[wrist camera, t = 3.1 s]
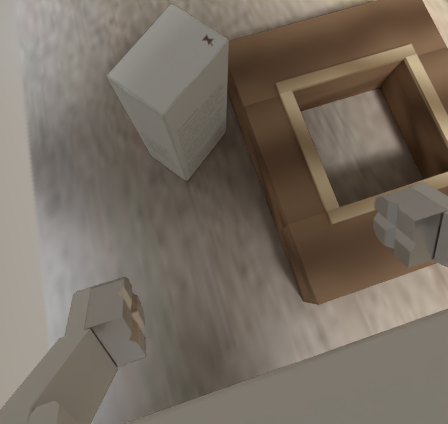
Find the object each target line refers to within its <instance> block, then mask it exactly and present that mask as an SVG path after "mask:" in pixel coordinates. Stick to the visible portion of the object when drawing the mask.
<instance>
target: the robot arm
mask: <svg viewBox="0 0 448 424" xmlns="http://www.w3.org/2000/svg"><path fill="white" fill-rule="evenodd" d="M374 208H375V210H376V211H377V212H378V213H377V215H376V216H375V218H374V219H373V228H374V231H375V234H376V236H377V238H378V239H379V241H380V242H381V243H382V244H383V245H384V246H387V247H390V248H393V250H394V255H395V256H396V257H397V258H398V259H399V260H400V261H401V262H402V263H403V264H404V265H406V266H407V267H408V268H409V267H412V266H416V265H419V264H422V263H425V262H429V261H432V260H434V262H436V263H439V264H441V265H444V266H446V267H448V196H447V195H445V194H443V193H442V192H440V191H438V190H436V189H435V188H433V187H431V186H430V185H428V184H426V183H422V182H420V183H417V184H414V185H411V186H408V187H406V188H403V189H400V190H397V191H394V192H391V193H388V194H385V195H382V196H379V197H377V198H376V200H375V203H374ZM144 326H145V319H144V313H143V308H142V305H141V303H140V300H139V298H138V296H137V295H135V294H133V293H132V285H131V283H130V281H129V279H128V278H127V277H123V278H119V279H116V280H112V281H109V282H106V283H102V284H99V285H95V286H93V287H89V288H86V289H83V290H79V291H76V292H75V294H74V295H73V299H72V303H71V308H70V313H69V318H68V323H67V327H66V332H65V337H62V338H59V340H58V341H57V342H56V343H55V344H54V346H53V347H52V348H51V349H50V350H49V352H48V353H47V354H46V355H45V356H44V358H43V359H42V360H41V361H40V362H39V364H38V365H37V366H36V367H35V368H34V370H33V371H32V372H31V373H30V375H29V376H28V377H27V378H26V380H25V381H24V382H23V383H22V384H21V385H20V387H19V388H18V389H17V390H16V391H15V393H14V394H13V395H12V396H11V397H10V399H9V400H8V401H7V402H6V403H5V405H4V406H3V407H2V409H1V410H0V424H91V422H92V420H93V418H94V416H95V414H96V412H97V410H98V408H99V406H100V404H101V402H102V400H103V398H104V396H105V394H106V392H107V390H108V388H109V386H110V384H111V382H112V380H113V378H114V376H115V374H116V372H117V370H118V368H117V367H120V366H123V365H125V364H128V363H131V362H133V361H136V360H139V359H142V358H144V357H146V342H145V336H144V334H143V332H142V329H143V327H144ZM125 424H448V309H446V310H443V311H440V312H437V313H434V314H432V315H429V316H426V317H423V318H420V319H418V320H415V321H412V322H409V323H406V324H404V325H401V326H398V327H395V328H392V329H390V330H387V331H384V332H381V333H378V334H376V335H373V336H370V337H367V338H364V339H361V340H359V341H356V342H353V343H350V344H347V345H345V346H342V347H339V348H336V349H333V350H330V351H328V352H325V353H322V354H319V355H316V356H313V357H311V358H308V359H305V360H302V361H299V362H297V363H294V364H291V365H288V366H285V367H282V368H280V369H277V370H274V371H271V372H268V373H265V374H263V375H260V376H257V377H254V378H251V379H249V380H246V381H243V382H240V383H237V384H235V385H232V386H229V387H226V388H223V389H220V390H218V391H215V392H212V393H209V394H206V395H204V396H201V397H198V398H195V399H192V400H189V401H187V402H184V403H181V404H178V405H175V406H173V407H170V408H167V409H164V410H161V411H158V412H156V413H153V414H150V415H147V416H144V417H142V418H139V419H136V420H133V421H130V422H128V423H125Z"/></svg>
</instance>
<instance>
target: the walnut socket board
mask: <svg viewBox="0 0 448 424" xmlns="http://www.w3.org/2000/svg"><path fill="white" fill-rule="evenodd" d="M377 88H381V90H382V92H383V94H384V96H385V98H386V100H387V102H388V105H389V107H390V109H391V111H392V113H393V115H394V117H395V119H396V122H397V124H398V126H399V128H400V130H401V132H402V134H403V136H404V139H405V141H406V143H407V145H408V147H409V149H410V151H411V153H412V156H413V158H414V160H415V162H416V164H417V166H418V168H419V170H420V173H421V175H422V177H423V179H424V180H421V181H418V182H415V183H412V184H409V185H406V186H403V187H400V188H397V189H394V190H390V191H387V192H384V193H381V194H378V195H375V196H372V197H369V198H366V199H363V200H360V201H357V202H354V203H351V204H348V205H345V206H342V207H339V204H338V202H337V199H336V197H335V194H334V192H333V189H332V187H331V185H330V182H329V180H328V177H327V175H326V172H325V170H324V168H323V165H322V163H321V160H320V158H319V155H318V153H317V150H316V148H315V146H314V143H313V141H312V138H311V136H310V133H309V131H308V129H307V126H306V124H305V121H304V119H303V116H302V114H301V111H303V110H306V109H310V108H313V107H316V106H320V105H323V104H327V103H330V102H333V101H337V100H340V99H343V98H347V97H350V96H353V95H357V94H360V93H363V92H367V91H370V90H374V89H377ZM227 93H228V96H229V99H230V102H231V104H232V107H233V110H234V113H235V115H236V118H237V121H238V123H239V126H240V129H241V132H242V134H243V137H244V140H245V143H246V145H247V148H248V151H249V154H250V156H251V159H252V162H253V164H254V167H255V170H256V173H257V175H258V178H259V181H260V184H261V186H262V189H263V192H264V195H265V197H266V200H267V203H268V205H269V208H270V211H271V214H272V216H273V219H274V222H275V225H276V227H277V230H278V233H279V236H280V238H281V241H282V244H283V246H284V249H285V252H286V255H287V257H288V260H289V263H290V266H291V268H292V271H293V274H294V277H295V279H296V282H297V285H298V287H299V290H300V293H301V296H302V298H303V301H304V302H308V303H313V304H317V305H319V304H322V303H325V302H327V301H330V300H333V299H336V298H339V297H342V296H344V295H347V294H350V293H353V292H356V291H359V290H361V289H364V288H367V287H370V286H373V285H376V284H379V283H381V282H384V281H387V280H390V279H393V278H396V277H398V276H401V275H404V274H407V273H410V272H413V271H416V270H418V269H421V268H424V267H427V266H430V265H433V264H435V263H436V262H434V260H432V261H429V262H425V263H422V264H419V265H416V266H412V267H409V268H408V267H407V266H406V265H404V264H403V263H402V262H401V261H400V260H399V259H398V258H397V257H396V256H395V255H394V250H393V248H390V247H387V246H384V245H383V244H382V243H381V242H380V241H379V239H378V238H377V236H376V234H375V231H374V228H373V219H374V218H375V216H376V215H377V213H378V212H377V211H376V210H375V208H374V203H375V200H376V198H377V197H379V196H382V195H385V194H388V193H391V192H394V191H397V190H400V189H403V188H406V187H408V186H411V185H414V184H417V183H420V182H422V183H426V184H428V185H430V186H431V187H433V188H435V189H436V190H438V191H440V192H442V193H443V194H445V195H447V196H448V48H447V46H446V44H445V43H444V41H443V39H442V37H441V35H440V33H439V31H438V29H437V28H436V26H435V24H434V22H433V20H432V18H431V16H430V14H429V12H428V11H427V9H426V7H425V5H424V3H423V1H422V0H377V1H373V2H369V3H366V4H362V5H359V6H355V7H351V8H348V9H344V10H340V11H337V12H333V13H329V14H326V15H322V16H318V17H315V18H311V19H307V20H304V21H300V22H296V23H293V24H289V25H285V26H282V27H278V28H274V29H271V30H267V31H264V32H260V33H256V34H253V35H249V36H245V37H242V38H238V39H234V40H231V41H229V50H228V82H227Z"/></svg>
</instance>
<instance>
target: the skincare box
mask: <svg viewBox="0 0 448 424" xmlns="http://www.w3.org/2000/svg"><path fill="white" fill-rule="evenodd" d="M228 50H229V40H228V38H226V37H224V36H223V35H221V34H220V33H218V32H216V31H215V30H213V29H211V28H210V27H208V26H207V25H205V24H204V23H202V22H201V21H199V20H197V19H196V18H194V17H193V16H191V15H190V14H188V13H187V12H185V11H183V10H182V9H180V8H178V7H177V6H175V5H173V4H170V5H169V6H168V7H167V8H166V9H165V10H164V12H163V13H162V14H161V15H160V16H159V17H158V18H157V19H156V21H155V22H154V23H153V24H152V25H151V26H150V27H149V28H148V30H147V31H146V32H145V33H144V34H143V35H142V36H141V37H140V39H139V40H138V41H137V42H136V43H135V44H134V45H133V47H132V48H131V49H130V50H129V51H128V52H127V53H126V54H125V55H124V57H123V58H122V59H121V60H120V61H119V62H118V63H117V64H116V66H115V67H114V68H113V69H112V70H111V71H110V72H109V73H108V74H107V79H108V81H109V82H110V84H111V86H112V88H113V89H114V91H115V93H116V95H117V96H118V98H119V100H120V102H121V104H122V105H123V107H124V109H125V111H126V112H127V114H128V116H129V117H130V119H131V121H132V123H133V125H134V126H135V128H136V130H137V132H138V133H139V135H140V137H141V139H142V140H143V142H144V144H145V146H146V147H147V149H148V151H149V153H150V155H151V156H152V157H153V158H155V159H156V160H158V161H159V162H160V163H162V164H163V165H164V166H166V167H167V168H168V169H170V170H171V171H172V172H174V173H175V174H177V175H178V176H179V177H181V178H182V179H183V180H185V181H188V180H189V178H190V177H191V176H192V175H193V173H194V172H195V171H196V170H197V168H198V167H199V166H200V165H201V163H202V162H203V161H204V159H205V158H206V157H207V156H208V154H209V153H210V152H211V151H212V149H213V148H214V147H215V145H216V144H217V143H218V142H219V140H220V139H221V138H222V137H223V135H224V134H225V133H226V117H227V82H228Z"/></svg>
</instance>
